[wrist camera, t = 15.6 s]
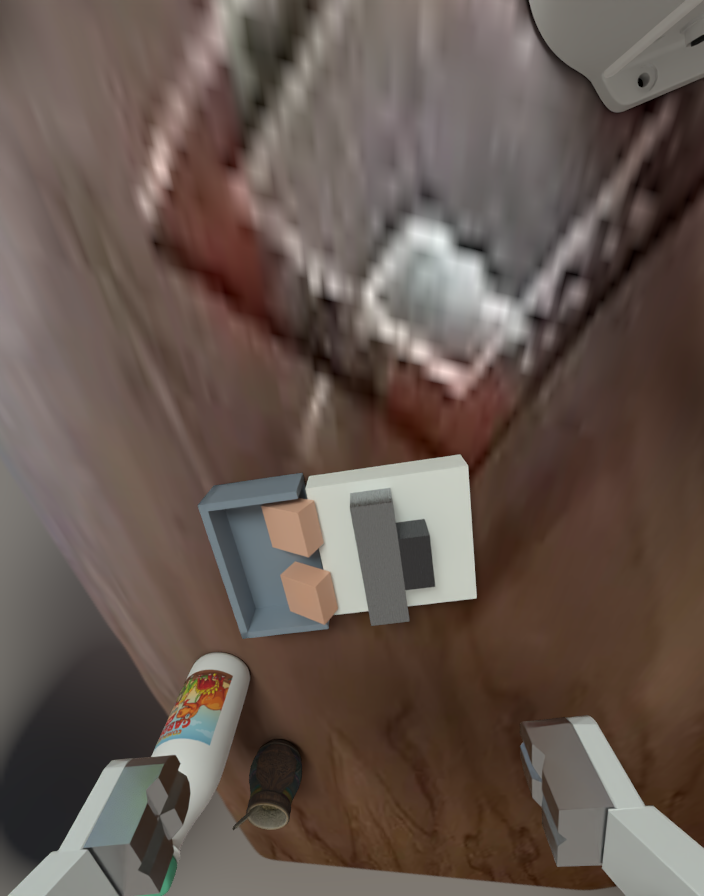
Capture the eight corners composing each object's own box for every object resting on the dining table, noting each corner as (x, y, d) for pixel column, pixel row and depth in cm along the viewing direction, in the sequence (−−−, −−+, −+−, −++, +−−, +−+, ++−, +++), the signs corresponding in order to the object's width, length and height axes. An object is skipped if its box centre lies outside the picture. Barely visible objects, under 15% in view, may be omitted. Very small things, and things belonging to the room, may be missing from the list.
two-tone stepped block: (350, 493, 38) (420, 483, 37) (370, 604, 43) (433, 597, 42) (349, 507, 35) (425, 497, 35) (371, 625, 40) (438, 618, 39)
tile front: (314, 500, 38) (297, 512, 36) (323, 543, 39) (308, 557, 37) (277, 494, 41) (261, 505, 39) (288, 534, 42) (272, 547, 40)
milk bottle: (260, 663, 50) (202, 878, 31) (237, 700, 52) (169, 919, 33) (205, 641, 49) (110, 849, 30) (184, 679, 51) (83, 895, 32)
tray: (302, 472, 40) (296, 491, 36) (331, 600, 46) (328, 628, 42) (213, 485, 41) (197, 505, 37) (252, 609, 47) (242, 638, 43)
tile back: (330, 571, 41) (315, 586, 39) (338, 608, 42) (324, 624, 40) (295, 561, 43) (280, 574, 41) (304, 596, 45) (290, 610, 43)
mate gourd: (300, 769, 57) (287, 860, 48) (250, 759, 57) (227, 849, 47) (310, 738, 55) (298, 827, 45) (258, 727, 54) (235, 815, 45)
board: (460, 454, 39) (468, 465, 37) (469, 580, 45) (476, 598, 42) (308, 476, 41) (305, 488, 38) (335, 596, 46) (333, 615, 43)
